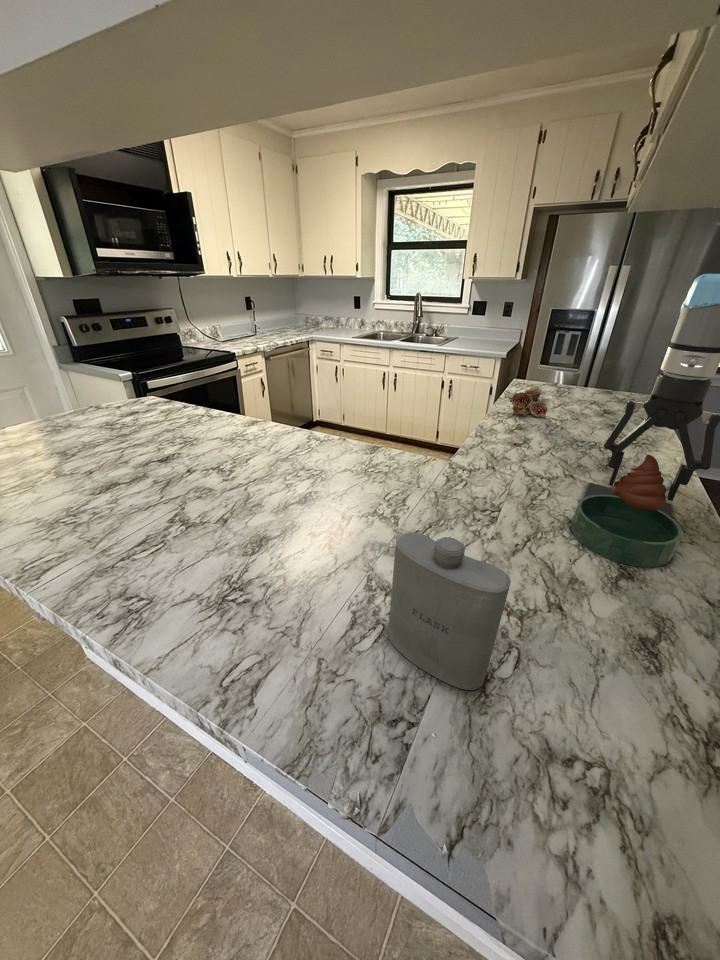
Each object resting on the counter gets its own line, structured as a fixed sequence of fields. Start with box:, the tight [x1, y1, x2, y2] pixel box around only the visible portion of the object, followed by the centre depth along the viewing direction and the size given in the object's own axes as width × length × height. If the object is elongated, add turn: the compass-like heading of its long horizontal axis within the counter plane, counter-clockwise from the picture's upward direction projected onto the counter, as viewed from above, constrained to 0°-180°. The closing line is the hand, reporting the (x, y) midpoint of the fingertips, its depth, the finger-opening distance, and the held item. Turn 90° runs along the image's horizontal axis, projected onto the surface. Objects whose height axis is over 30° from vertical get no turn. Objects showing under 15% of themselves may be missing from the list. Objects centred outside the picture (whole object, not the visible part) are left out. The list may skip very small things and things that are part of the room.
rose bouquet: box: [508, 386, 548, 418], centre depth 156 cm, size 13×16×15 cm
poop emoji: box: [611, 454, 673, 511], centre depth 77 cm, size 10×8×9 cm
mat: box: [582, 482, 672, 518], centre depth 97 cm, size 18×12×1 cm, turn 55°
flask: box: [387, 531, 512, 691], centre depth 52 cm, size 15×6×20 cm, turn 52°
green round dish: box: [570, 495, 684, 569], centre depth 82 cm, size 18×18×6 cm
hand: (639, 490), depth 78 cm, fingers closed on poop emoji, 9 cm apart
